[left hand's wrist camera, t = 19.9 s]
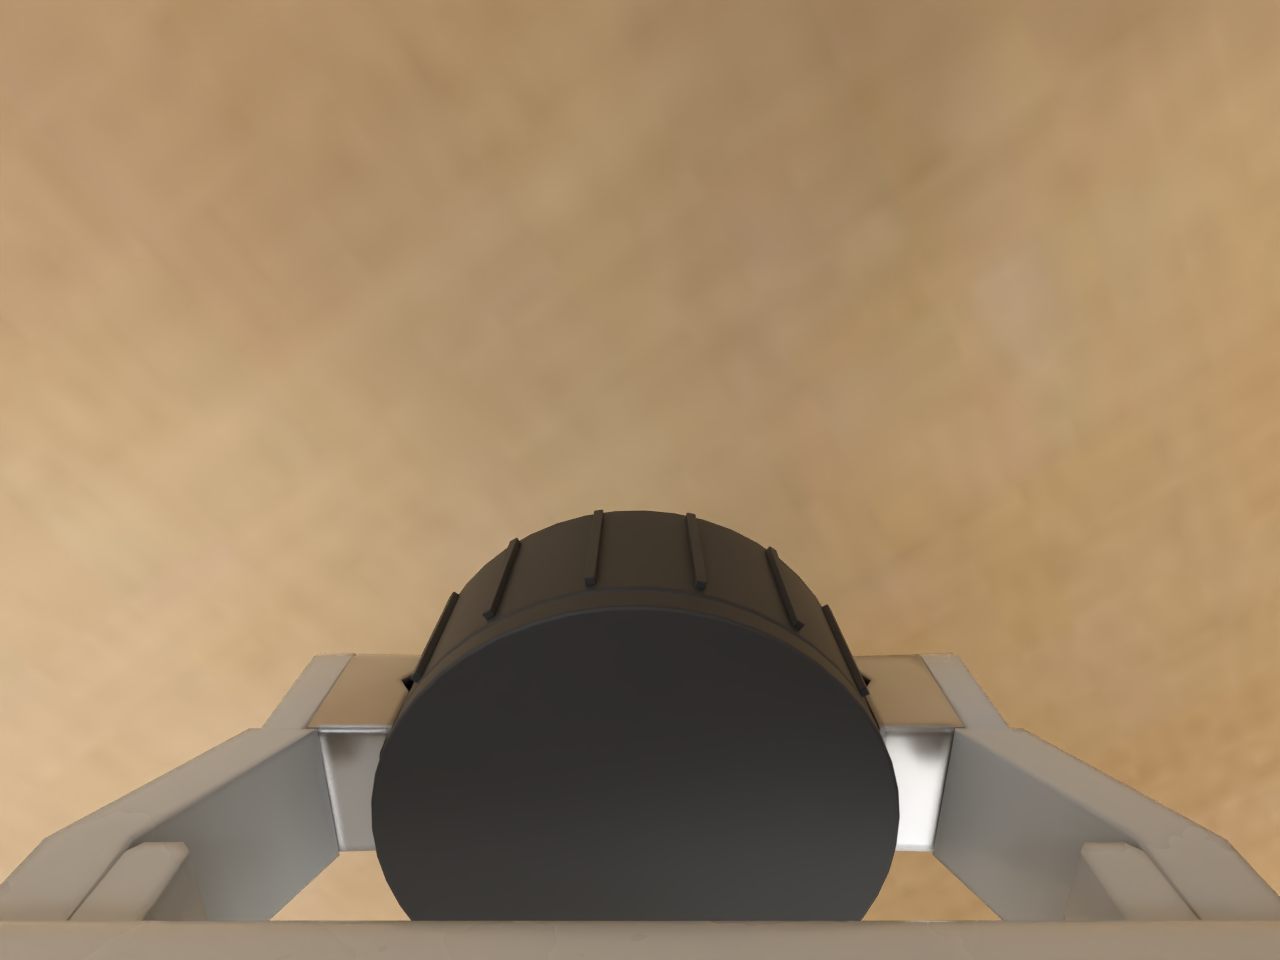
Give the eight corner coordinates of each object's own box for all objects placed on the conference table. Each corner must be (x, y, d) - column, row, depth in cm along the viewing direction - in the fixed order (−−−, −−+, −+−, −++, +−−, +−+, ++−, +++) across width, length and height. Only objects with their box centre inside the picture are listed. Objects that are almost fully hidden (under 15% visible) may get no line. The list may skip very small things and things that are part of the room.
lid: (352, 589, 10) (264, 707, 7) (776, 443, 9) (821, 524, 7) (528, 897, 12) (500, 1066, 9) (890, 795, 11) (955, 952, 9)
